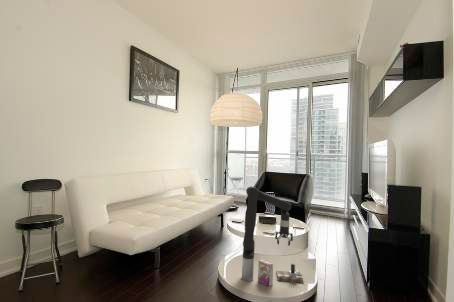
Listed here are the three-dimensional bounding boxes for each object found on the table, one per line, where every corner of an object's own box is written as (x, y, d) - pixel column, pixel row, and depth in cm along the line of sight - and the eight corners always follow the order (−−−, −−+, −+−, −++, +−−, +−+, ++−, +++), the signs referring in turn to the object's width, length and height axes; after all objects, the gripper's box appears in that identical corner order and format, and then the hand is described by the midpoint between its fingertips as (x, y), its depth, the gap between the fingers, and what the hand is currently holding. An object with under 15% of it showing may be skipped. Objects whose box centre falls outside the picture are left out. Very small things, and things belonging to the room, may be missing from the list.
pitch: (278, 281, 192) (278, 275, 192) (276, 272, 207) (276, 267, 208) (303, 283, 190) (303, 277, 190) (299, 274, 205) (299, 269, 206)
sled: (289, 278, 192) (290, 265, 193) (287, 272, 203) (288, 259, 204) (296, 279, 191) (296, 265, 192) (293, 273, 203) (293, 260, 203)
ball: (299, 270, 198) (300, 275, 198) (298, 268, 202) (299, 273, 202) (294, 272, 198) (296, 277, 198) (293, 270, 202) (295, 275, 202)
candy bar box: (257, 281, 189) (258, 260, 190) (261, 279, 192) (262, 259, 194) (269, 287, 181) (269, 265, 182) (272, 285, 184) (273, 263, 186)
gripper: (276, 225, 196) (275, 245, 195) (294, 227, 195) (292, 247, 194) (275, 223, 204) (274, 242, 203) (292, 225, 202) (291, 244, 201)
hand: (283, 244), depth 198 cm, fingers open, 8 cm apart
